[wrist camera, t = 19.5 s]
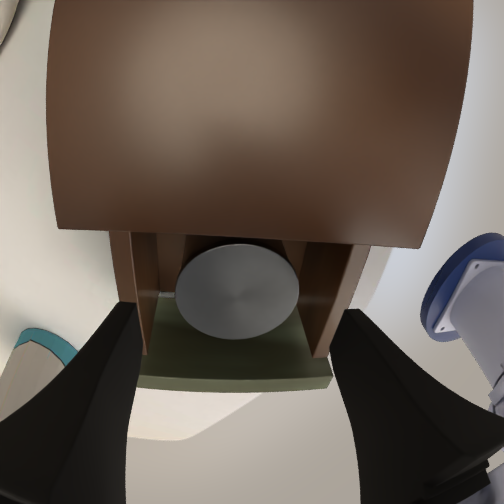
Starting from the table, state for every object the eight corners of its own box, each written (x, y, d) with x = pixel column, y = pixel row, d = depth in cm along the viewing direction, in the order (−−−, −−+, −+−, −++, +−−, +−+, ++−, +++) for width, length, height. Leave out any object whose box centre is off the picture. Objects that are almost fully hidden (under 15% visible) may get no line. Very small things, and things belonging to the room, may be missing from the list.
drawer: (300, 328, 20) (320, 400, 15) (143, 323, 19) (129, 398, 14) (357, 98, 13) (428, 118, 8) (132, 75, 11) (77, 78, 6)
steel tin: (289, 202, 14) (311, 247, 11) (273, 285, 17) (286, 340, 13) (184, 195, 14) (172, 240, 10) (183, 281, 16) (176, 337, 13)
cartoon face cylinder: (27, 365, 22) (-13, 498, 10) (13, 318, 19) (-50, 475, 6) (87, 385, 24) (61, 530, 11) (82, 341, 21) (38, 521, 8)
